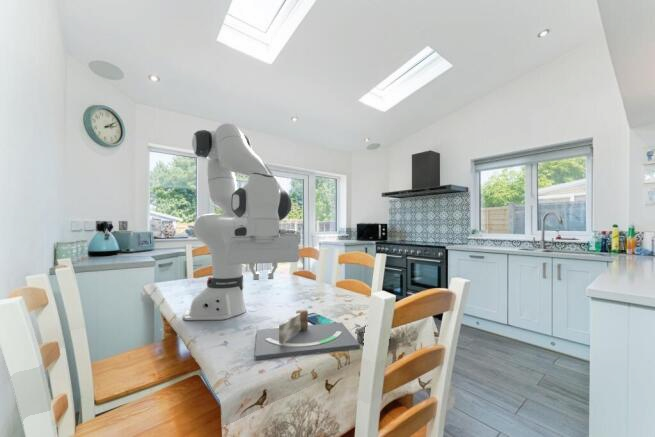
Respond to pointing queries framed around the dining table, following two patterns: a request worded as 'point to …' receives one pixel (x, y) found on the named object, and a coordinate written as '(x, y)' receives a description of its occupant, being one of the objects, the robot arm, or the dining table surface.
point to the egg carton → (360, 334)
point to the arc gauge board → (304, 341)
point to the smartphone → (318, 319)
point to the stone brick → (293, 325)
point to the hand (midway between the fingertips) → (263, 279)
